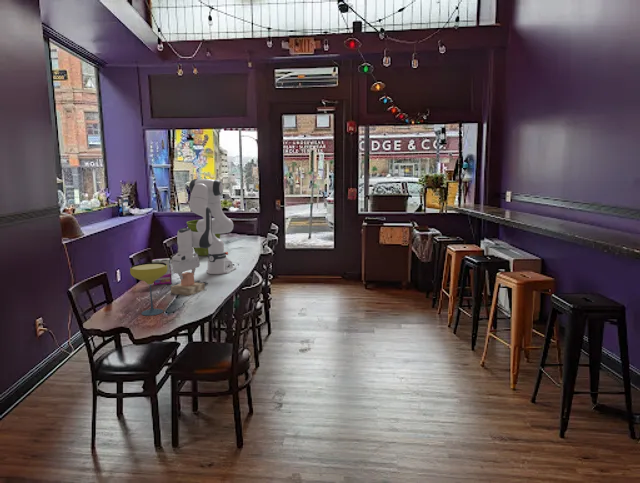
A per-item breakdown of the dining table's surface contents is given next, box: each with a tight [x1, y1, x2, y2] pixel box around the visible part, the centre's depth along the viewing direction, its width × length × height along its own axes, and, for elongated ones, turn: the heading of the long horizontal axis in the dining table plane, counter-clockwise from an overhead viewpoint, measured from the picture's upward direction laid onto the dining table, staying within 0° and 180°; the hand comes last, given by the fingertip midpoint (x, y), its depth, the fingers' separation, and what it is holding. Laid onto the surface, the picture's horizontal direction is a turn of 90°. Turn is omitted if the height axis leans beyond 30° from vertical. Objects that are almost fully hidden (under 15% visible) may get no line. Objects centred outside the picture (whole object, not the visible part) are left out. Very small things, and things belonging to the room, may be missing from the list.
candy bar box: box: [151, 257, 173, 286], centre depth 293 cm, size 11×5×16 cm, turn 105°
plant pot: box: [186, 219, 221, 257], centre depth 390 cm, size 30×30×29 cm
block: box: [180, 271, 195, 286], centre depth 274 cm, size 6×6×7 cm
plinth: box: [170, 281, 206, 297], centre depth 275 cm, size 14×14×4 cm
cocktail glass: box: [129, 261, 167, 317], centre depth 234 cm, size 18×18×25 cm
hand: (187, 277), depth 274 cm, fingers open, 8 cm apart
